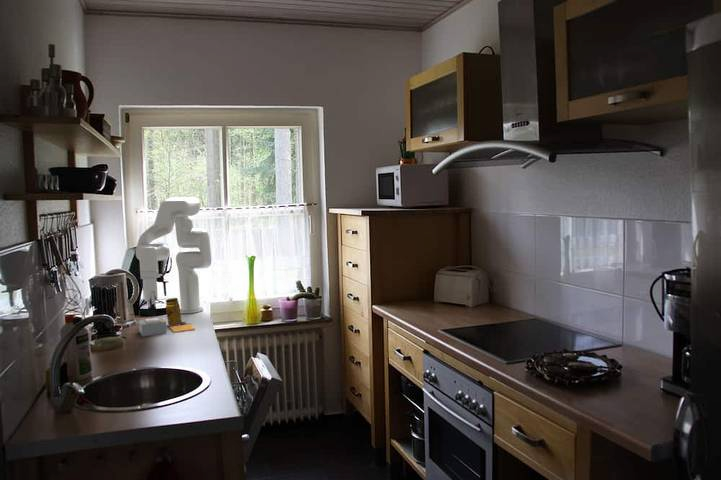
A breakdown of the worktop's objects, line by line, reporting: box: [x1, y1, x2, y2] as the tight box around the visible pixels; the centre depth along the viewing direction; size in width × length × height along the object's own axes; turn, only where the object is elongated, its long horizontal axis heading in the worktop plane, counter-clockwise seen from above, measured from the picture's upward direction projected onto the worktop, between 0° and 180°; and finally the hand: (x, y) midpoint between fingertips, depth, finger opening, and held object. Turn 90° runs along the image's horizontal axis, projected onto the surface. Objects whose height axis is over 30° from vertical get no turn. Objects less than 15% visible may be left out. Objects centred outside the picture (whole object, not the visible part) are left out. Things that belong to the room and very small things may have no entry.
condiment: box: [165, 297, 188, 327], centre depth 278 cm, size 7×8×12 cm
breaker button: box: [144, 317, 159, 323], centre depth 264 cm, size 5×5×4 cm
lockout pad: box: [169, 323, 196, 333], centre depth 269 cm, size 11×9×1 cm
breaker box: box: [138, 317, 167, 337], centre depth 264 cm, size 10×10×5 cm
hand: (152, 315), depth 264 cm, fingers closed
